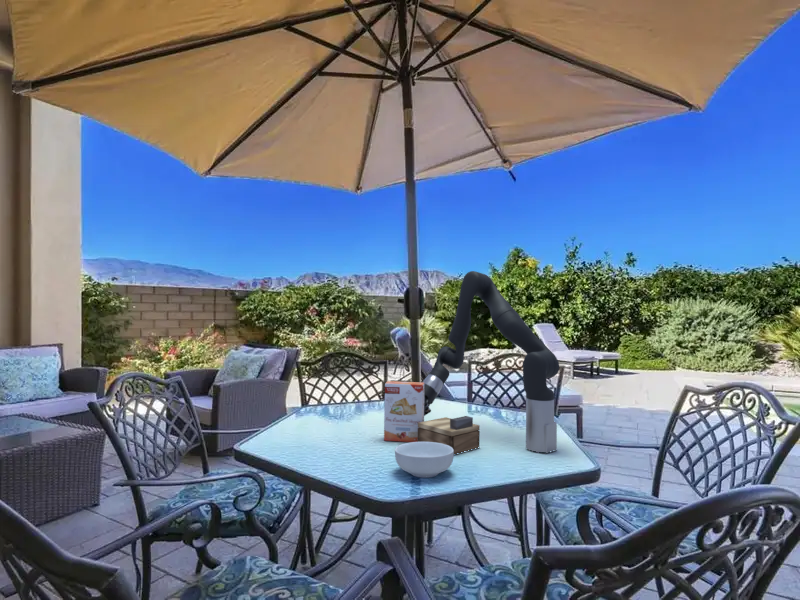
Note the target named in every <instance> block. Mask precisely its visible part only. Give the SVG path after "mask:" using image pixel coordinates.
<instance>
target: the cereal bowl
mask: <svg viewBox="0 0 800 600" xmlns="http://www.w3.org/2000/svg"><path fill="white" fill-rule="evenodd" d="M394 457H395V461H396V463H397V465H398V466H399V468H400V469H401V470H403V471H405V472H406V473H409V474H410V475H412V476H414V477H417V478H427V479H428V478H433V477H436V476H438V475H439V474H440V473H443V472H445V471H447V470H448V469H449V468H450V467H451V465H452V463H453V460H454V457H455V455H454V450H453V448H452V447H450V446H448V445H445V444H442V443H436V442H404V443H402V444H400V445H397V446H396V447H395V449H394Z"/></svg>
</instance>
